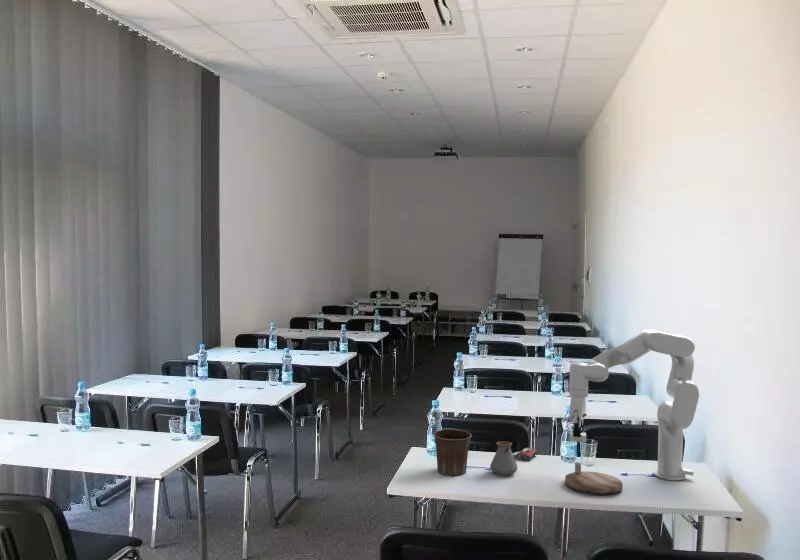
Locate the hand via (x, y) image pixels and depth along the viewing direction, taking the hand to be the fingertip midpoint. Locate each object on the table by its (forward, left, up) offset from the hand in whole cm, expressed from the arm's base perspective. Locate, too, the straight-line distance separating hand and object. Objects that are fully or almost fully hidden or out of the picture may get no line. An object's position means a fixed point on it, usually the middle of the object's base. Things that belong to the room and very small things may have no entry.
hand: (578, 435), depth 276 cm
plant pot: (+49, +21, -17) cm, 56 cm away
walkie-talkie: (+27, -12, -18) cm, 34 cm away
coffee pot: (+27, +17, -17) cm, 36 cm away
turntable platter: (-8, +12, -16) cm, 22 cm away
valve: (0, 0, -3) cm, 3 cm away
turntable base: (-8, +12, -17) cm, 22 cm away
